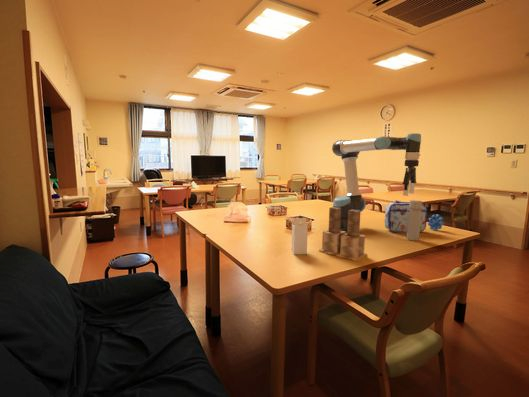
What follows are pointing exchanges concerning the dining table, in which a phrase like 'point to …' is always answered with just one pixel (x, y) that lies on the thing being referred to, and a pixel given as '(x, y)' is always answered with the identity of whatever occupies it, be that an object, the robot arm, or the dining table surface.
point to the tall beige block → (414, 220)
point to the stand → (343, 245)
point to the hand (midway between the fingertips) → (408, 194)
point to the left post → (334, 219)
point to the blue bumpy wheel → (435, 222)
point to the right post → (353, 223)
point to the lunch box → (401, 216)
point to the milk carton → (299, 236)
